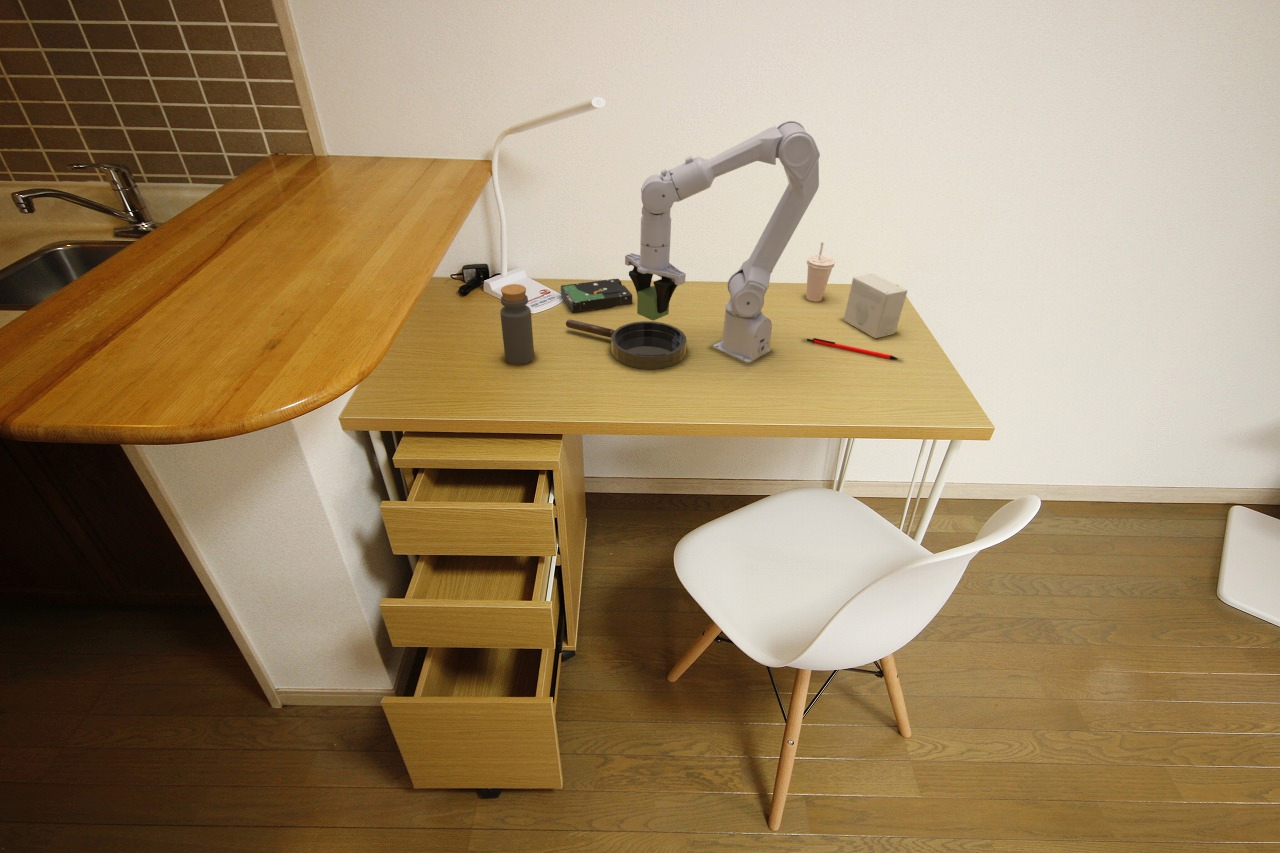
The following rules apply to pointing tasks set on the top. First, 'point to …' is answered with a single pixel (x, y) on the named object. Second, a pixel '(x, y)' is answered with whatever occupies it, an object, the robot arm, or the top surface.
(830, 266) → the smoothie
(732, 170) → the robot arm
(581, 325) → the skillet handle
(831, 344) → the pen
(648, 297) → the block
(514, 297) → the bottle
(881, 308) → the cosmetics box
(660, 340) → the skillet
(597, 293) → the disk drive
